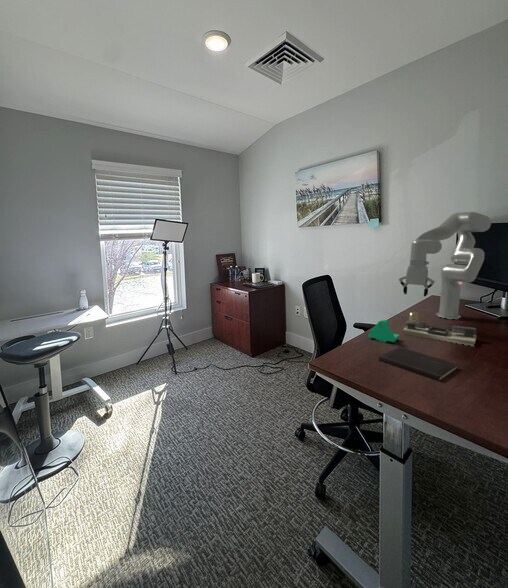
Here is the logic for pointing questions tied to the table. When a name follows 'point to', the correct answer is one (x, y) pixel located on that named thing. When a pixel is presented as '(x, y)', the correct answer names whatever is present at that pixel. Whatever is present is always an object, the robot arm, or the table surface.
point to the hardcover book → (418, 363)
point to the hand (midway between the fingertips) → (415, 294)
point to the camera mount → (383, 332)
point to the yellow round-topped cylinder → (413, 316)
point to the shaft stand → (441, 333)
